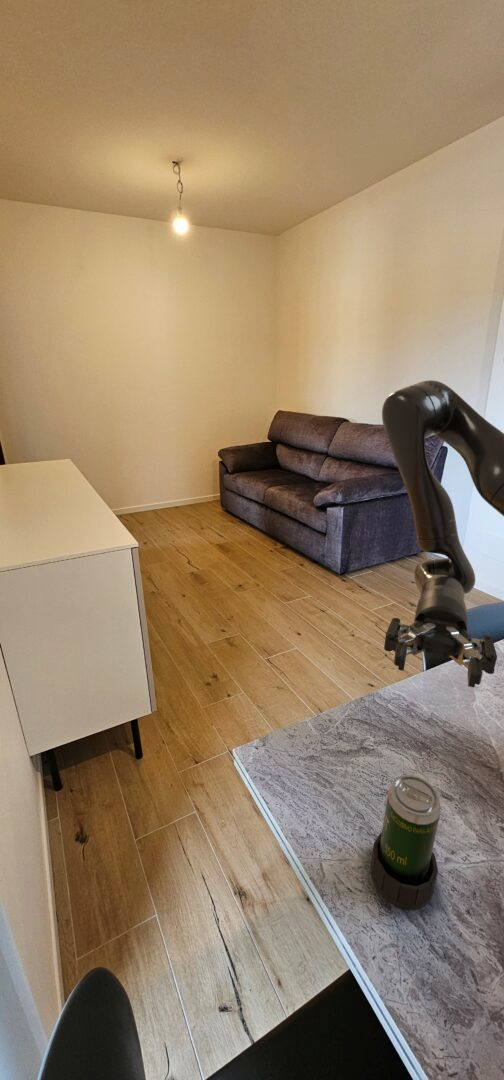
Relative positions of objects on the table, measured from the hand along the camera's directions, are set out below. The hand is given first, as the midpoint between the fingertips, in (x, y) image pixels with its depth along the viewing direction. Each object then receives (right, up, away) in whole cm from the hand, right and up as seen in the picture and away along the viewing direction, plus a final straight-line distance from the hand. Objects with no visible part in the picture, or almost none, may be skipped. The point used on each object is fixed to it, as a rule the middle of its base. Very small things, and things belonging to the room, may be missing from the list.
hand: (436, 672), depth 58 cm
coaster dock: (-6, -22, -6) cm, 23 cm away
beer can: (-6, -21, -6) cm, 23 cm away
